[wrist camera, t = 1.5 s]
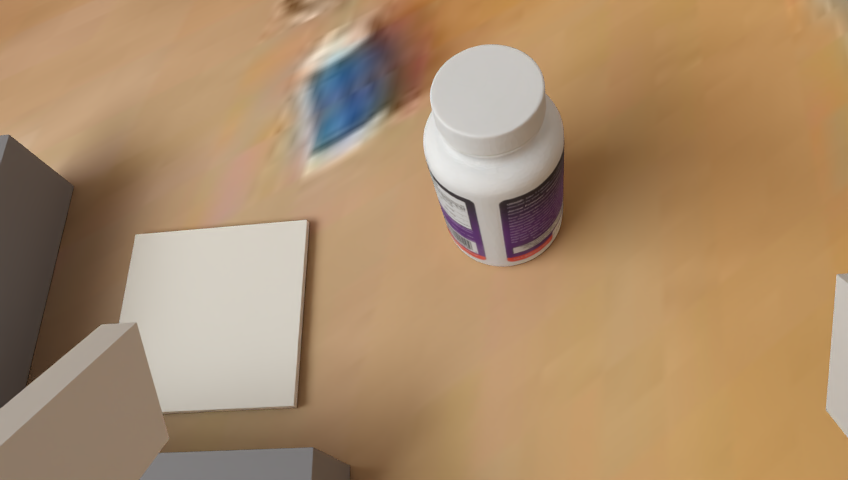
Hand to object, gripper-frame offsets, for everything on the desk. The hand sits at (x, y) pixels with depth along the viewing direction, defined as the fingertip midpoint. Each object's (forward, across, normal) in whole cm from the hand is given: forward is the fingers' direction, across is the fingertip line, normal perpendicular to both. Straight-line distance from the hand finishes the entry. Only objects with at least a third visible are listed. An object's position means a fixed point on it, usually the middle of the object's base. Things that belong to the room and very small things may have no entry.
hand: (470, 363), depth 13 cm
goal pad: (+17, -14, -6) cm, 22 cm away
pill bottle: (+20, 0, -3) cm, 20 cm away
